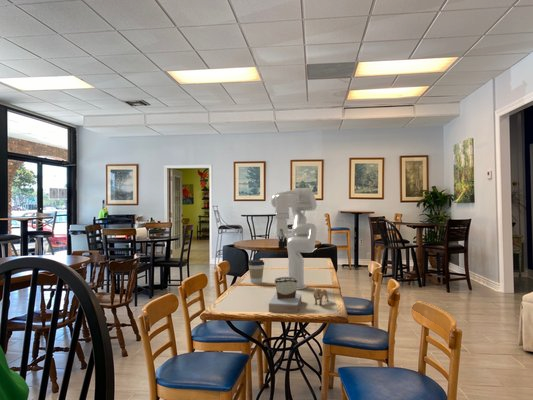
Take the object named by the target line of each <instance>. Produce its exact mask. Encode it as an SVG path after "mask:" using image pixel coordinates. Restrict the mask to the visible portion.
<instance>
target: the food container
mask: <svg viewBox="0 0 533 400" xmlns="http://www.w3.org/2000/svg"><path fill="white" fill-rule="evenodd" d="M297 283H298V280H297V278H293V277H289V276H281V277H276V278H275V279H274V284H275V289H276V290H275V291H276V293H277V299H296V294H297V290H296V287H297Z"/></svg>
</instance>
